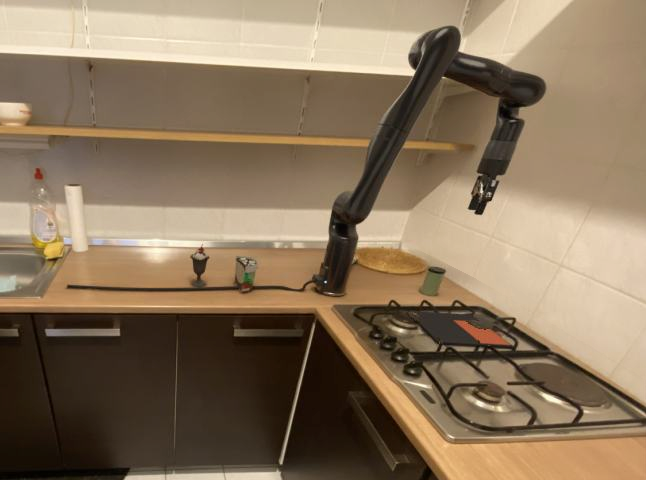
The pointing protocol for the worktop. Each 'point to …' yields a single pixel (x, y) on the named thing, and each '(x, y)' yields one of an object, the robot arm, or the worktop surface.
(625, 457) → the worktop surface
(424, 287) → the tea tin
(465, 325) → the corner mat
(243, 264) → the food container
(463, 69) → the robot arm
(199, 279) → the sundae
